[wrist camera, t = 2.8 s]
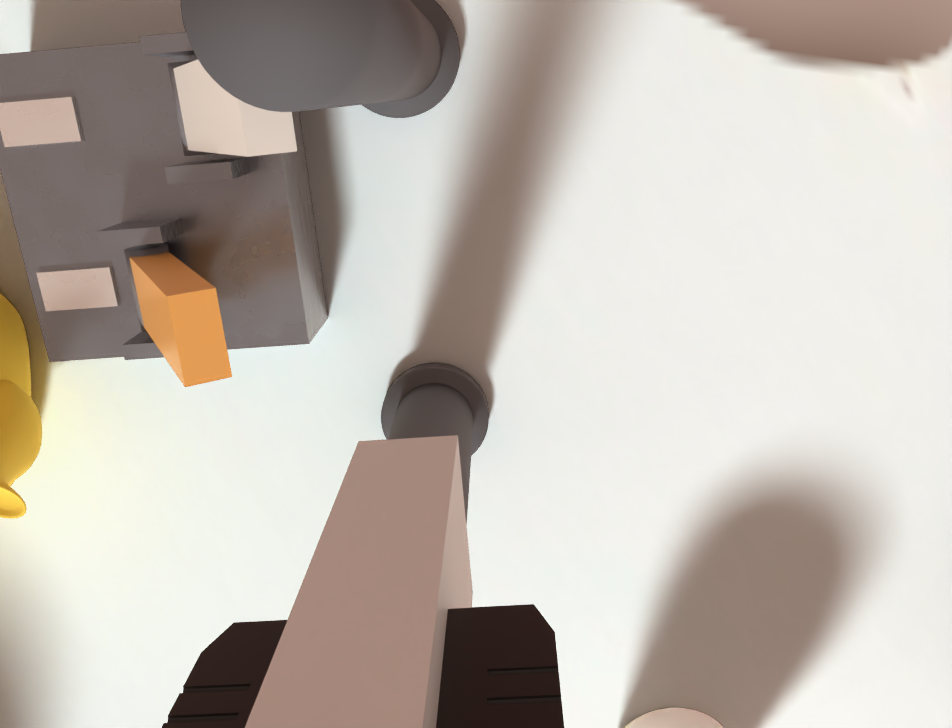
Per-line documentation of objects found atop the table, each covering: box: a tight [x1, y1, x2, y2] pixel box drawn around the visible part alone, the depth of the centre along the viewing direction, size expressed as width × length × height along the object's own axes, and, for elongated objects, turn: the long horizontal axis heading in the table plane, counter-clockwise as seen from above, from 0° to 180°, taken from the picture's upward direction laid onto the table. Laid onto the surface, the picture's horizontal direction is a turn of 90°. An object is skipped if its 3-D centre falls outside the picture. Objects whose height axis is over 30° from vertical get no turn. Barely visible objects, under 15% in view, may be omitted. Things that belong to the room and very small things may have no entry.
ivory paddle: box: [167, 59, 297, 157], centre depth 27 cm, size 2×3×10 cm, turn 3°
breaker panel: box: [0, 32, 328, 362], centre depth 33 cm, size 11×12×6 cm
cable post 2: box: [381, 363, 488, 523], centre depth 30 cm, size 5×5×20 cm
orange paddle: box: [124, 243, 232, 387], centre depth 29 cm, size 2×3×10 cm, turn 4°
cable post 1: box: [181, 0, 460, 118], centre depth 25 cm, size 5×5×20 cm
